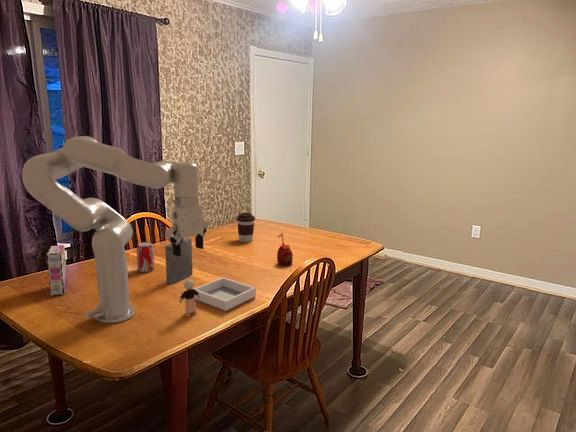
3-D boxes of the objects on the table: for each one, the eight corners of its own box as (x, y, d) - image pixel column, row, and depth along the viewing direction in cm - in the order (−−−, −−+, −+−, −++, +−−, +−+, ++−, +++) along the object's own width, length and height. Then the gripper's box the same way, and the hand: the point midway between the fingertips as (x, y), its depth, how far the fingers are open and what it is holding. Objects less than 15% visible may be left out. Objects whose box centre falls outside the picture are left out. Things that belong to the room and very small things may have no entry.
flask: (195, 274, 186) (194, 233, 182) (172, 285, 173) (170, 242, 169) (188, 272, 188) (187, 232, 183) (165, 283, 175) (163, 240, 171)
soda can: (149, 273, 185) (148, 247, 182) (134, 272, 186) (132, 245, 183) (157, 268, 192) (156, 242, 189) (143, 266, 193) (141, 241, 190)
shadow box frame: (226, 312, 151) (226, 301, 150) (192, 299, 161) (192, 289, 160) (255, 297, 164) (255, 287, 163) (223, 286, 173) (223, 277, 172)
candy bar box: (65, 295, 162) (61, 253, 158) (50, 296, 160) (45, 254, 156) (68, 284, 172) (64, 244, 168) (54, 285, 170) (50, 245, 166)
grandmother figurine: (195, 309, 153) (194, 275, 150) (202, 312, 151) (201, 278, 148) (177, 316, 147) (175, 281, 144) (184, 320, 145) (182, 284, 142)
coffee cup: (235, 238, 239) (234, 212, 236) (252, 237, 242) (252, 211, 239) (238, 244, 230) (238, 216, 227) (256, 242, 233) (256, 215, 230)
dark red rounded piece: (282, 267, 197) (283, 235, 194) (273, 263, 202) (273, 232, 199) (295, 264, 202) (296, 233, 198) (285, 260, 207) (286, 229, 204)
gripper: (173, 206, 131) (175, 260, 135) (214, 198, 144) (215, 247, 148) (157, 203, 135) (159, 255, 139) (198, 196, 149) (200, 243, 153)
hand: (188, 251), depth 144 cm, fingers open, 9 cm apart
